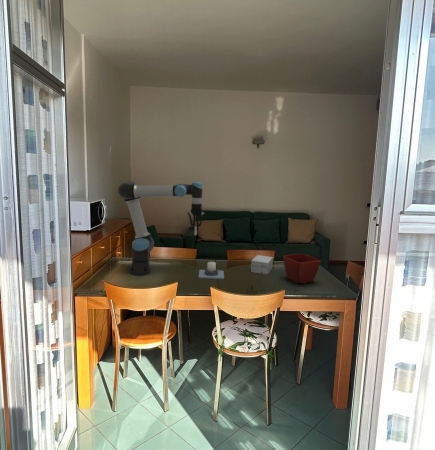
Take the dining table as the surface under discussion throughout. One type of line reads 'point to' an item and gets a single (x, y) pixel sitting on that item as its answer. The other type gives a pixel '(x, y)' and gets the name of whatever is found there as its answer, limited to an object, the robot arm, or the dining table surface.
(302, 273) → the plant pot
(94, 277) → the dining table surface
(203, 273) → the barrel board
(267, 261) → the supplement box
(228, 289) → the dining table surface
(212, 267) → the plug cap
